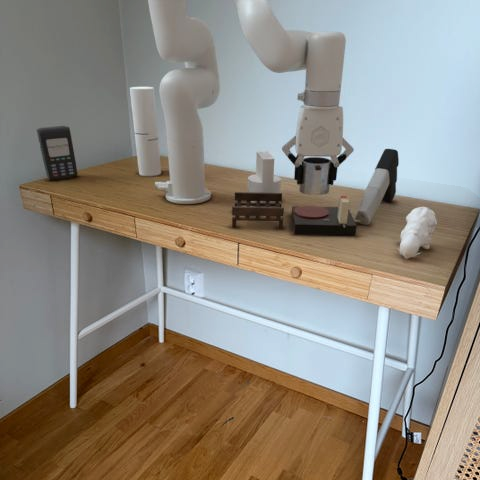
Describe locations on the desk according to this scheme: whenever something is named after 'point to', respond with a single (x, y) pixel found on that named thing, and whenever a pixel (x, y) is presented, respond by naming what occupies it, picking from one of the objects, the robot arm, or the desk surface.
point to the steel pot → (315, 175)
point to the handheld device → (379, 186)
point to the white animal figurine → (417, 231)
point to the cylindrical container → (145, 130)
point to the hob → (323, 224)
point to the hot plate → (311, 211)
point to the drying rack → (257, 207)
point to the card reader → (57, 152)
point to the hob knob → (343, 210)
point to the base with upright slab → (264, 176)
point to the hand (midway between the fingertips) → (314, 182)
